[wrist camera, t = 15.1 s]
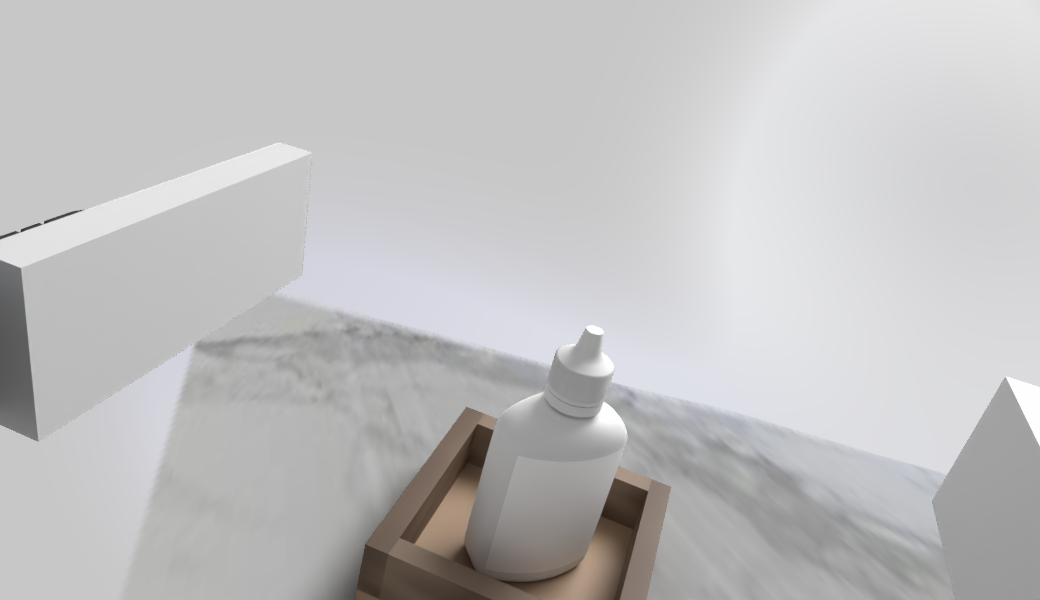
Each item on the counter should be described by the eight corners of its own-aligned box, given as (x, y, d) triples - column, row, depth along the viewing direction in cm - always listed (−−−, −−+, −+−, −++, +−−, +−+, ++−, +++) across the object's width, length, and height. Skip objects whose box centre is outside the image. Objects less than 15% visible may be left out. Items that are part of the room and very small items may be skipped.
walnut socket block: (649, 539, 40) (670, 487, 38) (606, 720, 30) (632, 660, 29) (453, 459, 42) (466, 406, 40) (353, 606, 32) (365, 544, 30)
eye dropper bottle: (581, 607, 33) (668, 377, 28) (454, 573, 33) (518, 338, 28) (584, 536, 37) (661, 323, 32) (471, 506, 37) (530, 288, 32)
